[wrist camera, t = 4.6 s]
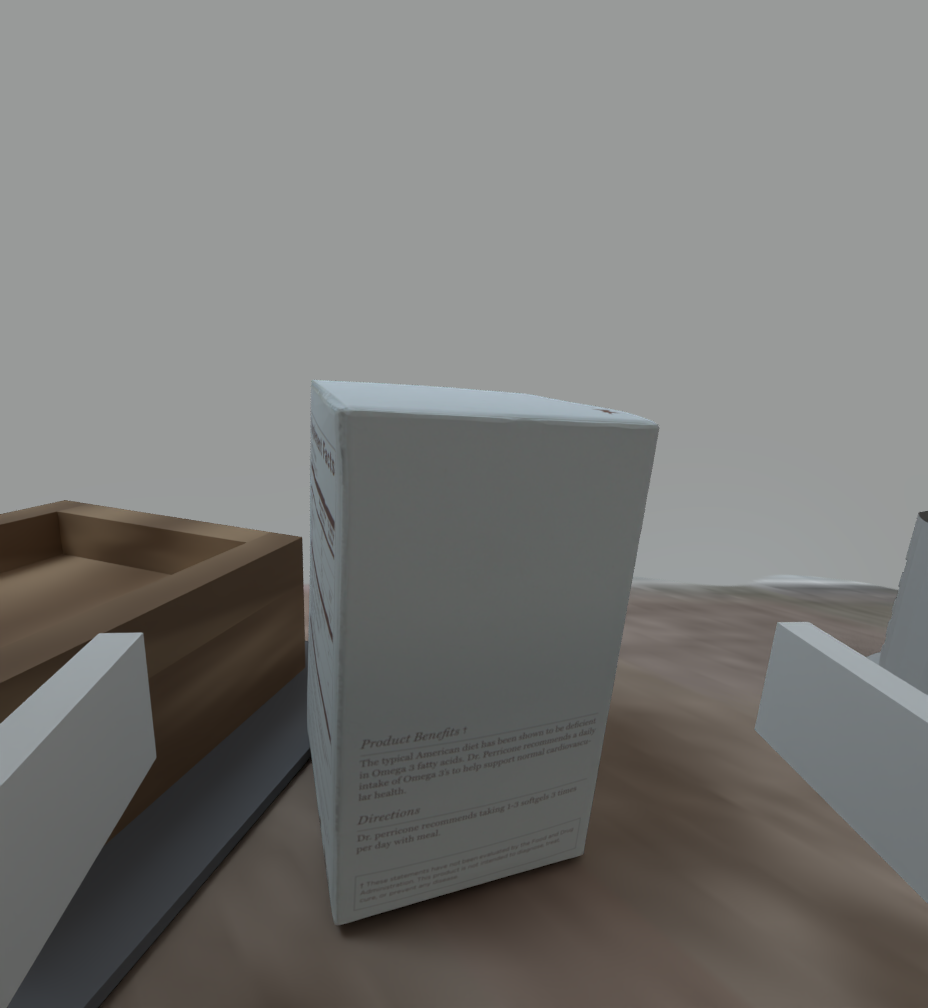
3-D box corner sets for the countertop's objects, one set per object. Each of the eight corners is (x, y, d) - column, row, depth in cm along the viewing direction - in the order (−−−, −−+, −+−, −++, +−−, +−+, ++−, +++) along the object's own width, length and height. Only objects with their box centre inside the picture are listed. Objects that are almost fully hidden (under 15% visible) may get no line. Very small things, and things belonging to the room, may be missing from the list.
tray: (-368, 808, 15) (-448, 611, 13) (80, 615, 27) (65, 500, 25) (-45, 977, 11) (-104, 733, 10) (305, 667, 23) (302, 537, 22)
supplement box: (490, 704, 22) (527, 391, 19) (589, 863, 15) (675, 417, 12) (302, 731, 19) (308, 374, 16) (320, 938, 13) (336, 395, 9)
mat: (-558, 847, 14) (-563, 834, 14) (75, 597, 30) (74, 590, 30) (-57, 1190, 9) (-62, 1173, 9) (387, 666, 25) (387, 658, 24)
